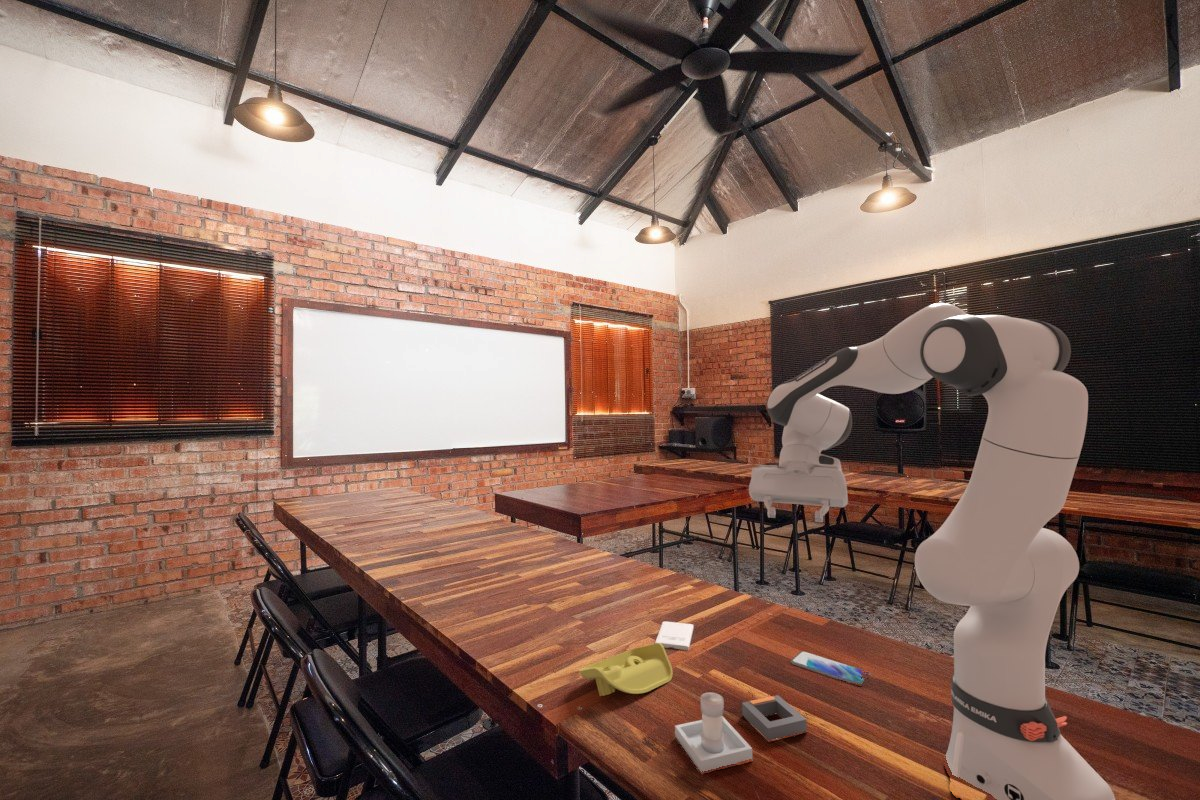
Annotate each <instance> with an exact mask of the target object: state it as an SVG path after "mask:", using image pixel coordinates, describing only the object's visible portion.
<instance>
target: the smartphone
mask: <svg viewBox="0 0 1200 800" xmlns="http://www.w3.org/2000/svg"><path fill="white" fill-rule="evenodd" d="M790 664H791V665H794V666H797V667H799V668H803V669H806V670H809V671H811V672H813V673H818V674H820V675H823V676H826V675H827V676H826V677H829V678H833V679H835V680H838V679H839V680H838V681H841V680H843V681H842V682H844V681H848V682H853V683H856V684H857V683H858V684H862V683H863V681H864V679H865V678H862V679H861V677H862V676H863V675H861V674H863V673H862V672H861V671H862V670H863V669H861V668H858V667H856V666H852V665H848V664H845V663H844V662H843V663H842V662H839V661H836V660H833V659H830V658H827V657H824V656H820V655H817V654H815V653H810V652H808V651H804V650H803V651H802V650H801V651H800V652H799V653H797V654H796V655H795V656H794V657H792V659H790ZM869 672H870V671H868V672H866V673H868V674H870V675H871V673H869ZM864 673H865V672H864ZM868 674H866V675H868ZM864 676H865V675H864Z"/></svg>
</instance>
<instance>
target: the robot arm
mask: <svg viewBox="0 0 1200 800" xmlns="http://www.w3.org/2000/svg"><path fill="white" fill-rule="evenodd" d="M1071 354H1072V348H1071V343H1070V340H1069V338H1068V337H1067V335H1066V334H1065V333H1064V332H1063V330H1061V329H1060V328H1058V326H1057V327H1056V326H1055V325H1053V324H1051V323H1049V322H1045V321H1044V320H1038V319H1033V318H1029V319H1028V318H1027V319H1025V318H1019V317H1012V316H1009V315H1003V314H1002V315H1001V314H981V315H974V314H968V313H966V312H965V311H964V310H963V309H962V308H960V307H959V306H957V305H956V306H955V305H953V304H951V303H945V302H937V303H933V304H929V305H927V306H925V307H923V308H922V309H920V310H918V311H916V312H915V313H913V314H911V315H909V316H908V317H906V318H905V319H904V320H902V321H901V322H899V323H898V324H896V325H895V326H894V327H893V328H891V329H890V330H889V331H888V332H887V333H886V334H884V335H883V336H881V337H879V338H877V339H875V340H873V341H871V342H868V343H865V344H862V345H857V346H847V347H843V348H841V349H839V350H837V351H835V352H834V353H832V354H830V355H829V356H827V357H826V358H824V359H822V360H820V361H818V362H817V363H815V364H814V365H813V366H811V367H810V368H808V369H807V370H805V371H803V372H801V373H800V374H799V375H797V376H795V377H793V378H791V379H788V380H786V381H784V382H782V383H780V384H778V385H777V386H776V387H775V388H774V389H773V390H772V392H771V393H770V395H769V396H768V398H767V400H766V410H767V413H768V415H769V417H770V419H771V421H772V422H773V423H775V424H777V425H780V426H782V427H783V431H782V436H781V444H782V447H781V450H780V452H779V460H778V461H779V462H778V465H777V464H769V465H766V464H758V466H755V467H752V468H751V472H750V478H751V479H750V482H749V484H748V485H749V486H748V494H749V496H750V497H749V498H750V499H751V500H752V501H755V502H764V506H765V507H766V508H765V509H767V513H766V514H767V518H769V519H770V518H771V519H772V518H773V519H776V513H777V512H776V511H777V510H776V507H774V506H772V503H778V504H780V503H781V504H793V505H805V506H816V507H817V506H818V507H819V506H820V509H819V510H814V522H815V523H816V522H817V523H823V522H824V516H825V515H826V514H827V513H828V512H829V510H830V507H832V508H845V507H846V506H848V504H849V497H848V486H847V481H846V477H845V474H844V472H843V469H842V463H841V460H840V459H839V458H836V457H833V456H829V455H826V454H822V453H821V452H822V451H827V450H830V449H833V448H835V447H838V446H839V445H841V444H842V443H844V442H845V441H847V439H848V438H849V436H850V435H851V432H852V428H853V416H852V411H851V410H850V408H849V407H848V406H846V405H844V404H842V403H840V402H838V401H836V400H833V399H831V398H829V397H826V396H824V395H822V394H821V392H823V391H825V390H827V389H828V388H831V387H836V386H849V387H855V388H860V389H861V388H862V389H865V390H869V391H873V392H877V393H881V394H888V395H889V394H890V395H896V394H897V395H898V394H899V395H900V394H903V393H908V392H910V391H913V390H915V389H917V388H919V387H921V386H922V385H924V384H925V383H927V382H928V381H930V380H931V379H933V378H934V379H936V380H937V381H939V382H942V383H944V384H945V385H948V386H950V387H953V388H955V389H956V390H958V391H959V392H961V393H962V394H964V395H966V396H968V397H975V396H981V395H982V396H983V397H984V398H985V400H986V402H987V406H988V413H987V417H986V418H987V419H986V422H985V425H984V428H983V429H984V430H983V431H982V432H983V433H982V436H981V440H980V445H979V448H978V451H977V455H976V459H975V462H974V466H973V468H972V472H971V475H970V476H971V477H970V479H969V482H968V484H967V486H966V488H965V490H964V492H963V494H962V495H961V497H960V499H959V500H958V502H957V504H955V506H954V508H953V509H952V511H951V512H950V514H949V515H948V517H946V519H945V521H944V522H943V523H942V525H941V526H940V527H939V528H938V529H937V530H936V531H935V532H934V533H932V535H930V536H928V538H927V539H924V540H923V541H922V542H921V543H920V544H919V545H918V546H917V549H916V550H915V551H916V552H915V553H914V554H915V555H914V567H915V568H914V569H915V573H916V575H917V578H918V580H919V581H920V584H921V585H922V586H923V588H924V590H926V591H927V592H928V593H929V594H930V595H931V596H932V597H933V598H935V599H936V600H938V601H940V602H942V603H945V604H951V605H956V606H966V607H969V608H968V610H967V611H966V613H965V615H964V616H963V617H962V618H961V619H960V620H959V621H958V623H957V625H956V626H955V627H954V631H953V669H954V671H953V675H952V677H951V683H950V684H951V685H950V692H951V694H950V697H951V698H950V699H951V703H952V706H953V716H952V727H951V728H952V729H951V733H950V739H949V744H948V748H947V751H946V754H945V756H946V760H947V763H948V766H949V768H950V770H951V772H952V775H954V776H956V777H958V778H959V777H960V778H961V779H963V780H965V781H966V782H968V783H970V784H972V785H973V786H975V787H977V788H980V789H982V790H983V791H985V792H987V793H989V794H991V795H992V796H993V797H994V798H995V799H997V800H1116V797H1115V794H1114V792H1113V790H1112V788H1111V786H1110V785H1109V784H1108V783H1107V782H1106V781H1105V780H1104V779H1103V778H1102V776H1101V775H1099V773H1098V772H1097V771H1095V770H1094V768H1093V767H1092V766H1091V765H1090V764H1089V763H1088V762H1087V761H1086V760H1085V759H1084V758H1083V757H1082V756H1081V755H1080V753H1079V752H1078V751H1077V750H1076V749H1075V747H1073V746H1072V745H1071V744H1070V743H1069V741H1068V740H1067V739H1065V737H1063V735H1062V734H1061V730H1060V728H1061V727H1064V726H1067V725H1068V722H1066V721H1067V719H1068V717H1067V716H1065V715H1063V716H1061V717H1057V718H1056V717H1055V715H1054V713H1053V710H1052V708H1051V705H1050V704H1049V701H1048V700H1047V699H1046V651H1047V646H1048V640H1049V635H1050V633H1051V630H1052V629H1051V628H1052V625H1053V623H1054V619H1055V616H1056V613H1057V610H1058V607H1059V606H1060V602H1061V600H1062V598H1063V597H1064V594H1065V592H1066V591H1067V589H1068V588H1069V587H1070V586H1071V585H1072V584H1073V583H1074V582H1075V580H1076V579H1077V578H1078V575H1079V571H1080V561H1079V557H1078V554H1077V552H1076V550H1075V549H1074V548H1073V547H1074V546H1072V544H1071V543H1070V542H1069V541H1068V540H1067V539H1066V538H1065V537H1063V536H1062V535H1061V534H1060V533H1058V532H1056V531H1054V530H1051V529H1048V528H1045V527H1044V526H1045V525H1046V524H1047V523H1048V522H1050V520H1052V518H1054V517H1055V516H1056V515H1058V514H1059V513H1060V512H1061V510H1062V509H1063V508H1064V506H1065V504H1066V501H1067V497H1068V494H1069V491H1070V488H1071V485H1072V481H1073V478H1074V474H1075V472H1076V468H1077V464H1078V461H1079V459H1080V455H1081V451H1082V449H1083V444H1084V439H1085V435H1086V430H1087V425H1088V424H1087V423H1088V414H1089V413H1088V411H1089V393H1088V390H1087V389H1088V388H1087V387H1086V386H1085V385H1084V384H1083V383H1082V381H1080V380H1079V379H1078V378H1076V377H1074V376H1072V375H1070V374H1068V373H1065V372H1063V371H1064V370H1065V369H1066V367H1067V366H1068V364H1069V362H1070V359H1071V356H1072V355H1071Z"/></svg>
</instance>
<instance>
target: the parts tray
mask: <svg viewBox="0 0 1200 800" xmlns="http://www.w3.org/2000/svg"><path fill="white" fill-rule="evenodd" d="M722 718H723V734H724V750H723V751H722V752H721V753H717V754H712V753H709V752H706V751H705V750H704V749H703V748H702V746H701V731H702V719H699V720H694V721H691V722H685V723H682V724H681V723H680V724H677V725H674V738H675V737H676V738H677V740H678V741H679V742H680V744H681V745H682V747H683V748H684V749H685V751H686V752H687V754H688V755H689V757H690V758H691V760H692V761H693V762H694V764H695V765H696V766H697V767H698V769H699V770H700V771H701V772H702V771H703V772H704V771H708V770H711V769H716V768H719V767H722V766H727V765H731V764H736V763H738V762H741V761H745V760H749V759H752V760H753V747H751V745H750V744H749V743H748V742H747V741H746V739H744V738H743V736H742V735H741V734H740V733H739V732H738V731H737V730H736V729H735V728H734V727H733V726H732V725H731V723H730V722H729V721H728V720H727V719H726V718H725V716H723V715H722ZM677 740H676V741H677ZM682 747H681V748H682ZM687 754H686V755H687ZM689 757H688V758H689ZM691 760H690V761H691ZM692 761H691V762H692ZM694 764H693V765H694Z"/></svg>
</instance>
